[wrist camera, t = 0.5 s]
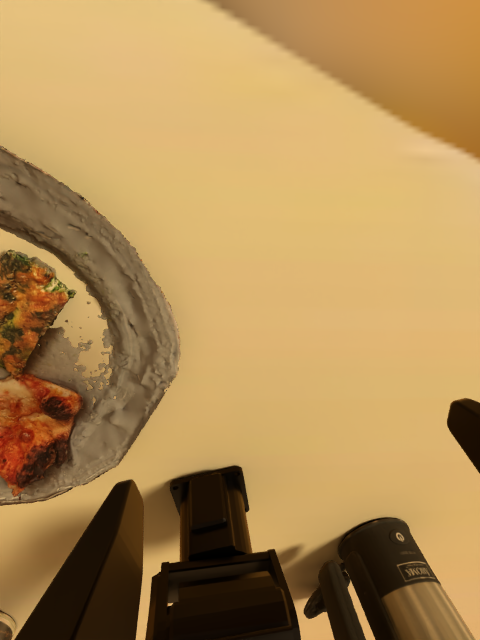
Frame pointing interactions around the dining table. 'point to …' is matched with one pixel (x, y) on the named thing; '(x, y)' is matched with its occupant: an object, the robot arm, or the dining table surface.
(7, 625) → the coffee can
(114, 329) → the food plate
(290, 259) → the dining table surface
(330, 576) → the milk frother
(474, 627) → the dining table surface
